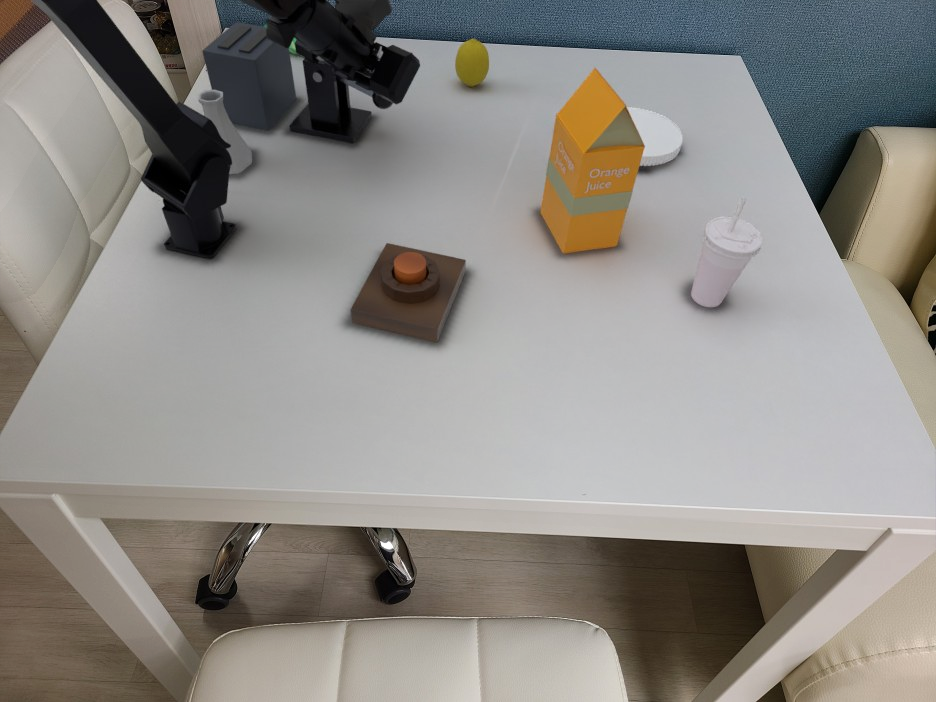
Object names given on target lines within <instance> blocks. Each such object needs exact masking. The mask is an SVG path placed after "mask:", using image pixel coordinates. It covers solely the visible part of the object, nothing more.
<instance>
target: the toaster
mask: <svg viewBox="0 0 936 702" xmlns="http://www.w3.org/2000/svg"><path fill="white" fill-rule="evenodd" d="M263 26H264V25H263ZM263 26H262V25H256V24H250V23H245V22H239V21H235V22H234V23H233V24H232V25H231V26H229V28H227V29H226V30H225V31H224V32H222V33H221V34H220V35H219V36H218V37H216V39H214V40H213V41H212V42H211V43H209V44H208V45H207V46H206V47H204V48H203V49H202V50H201V52H202V55H203V56H202V57H203V60H204V64H205V68H206V72H207V75H208V76H207V77H208V80H209V83H210V88H211V90H218V91H221V92H223V105H224V108H225V110H226V113H227V115H228V117H229V119H230V121H231V122H232V124H233V125H234V126H235V125H236V126H242V127H246V128H251V129H256V130H257V129H258V130H262V131H266V132H269V131H270V130H271V129H272V128H273V127H274V125H275V124H277V122H279V120H280V119H281V118H282V117H283V116H284V114H285V113H286V112H287V111H288V110H289V109H290V107H291V106H292V105H293V104H294V103H295V102H296V101H297V93H296V86H295V80H294V72H293V66H292V61H291V53H290V52H289V48H284V47H282V46H280V45H278V44H276V43H274V42H272V41H270V40H268V39H267V38H266V28H267V27H263Z"/></svg>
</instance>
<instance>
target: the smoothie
mask: <svg viewBox="0 0 936 702" xmlns="http://www.w3.org/2000/svg"><path fill="white" fill-rule="evenodd" d="M746 201H747V198H746V197H741V198H740V199H739V202H738V204H737V206H736V209H735V211H734V214H733V216H717V217H714V218H712V219H710V220H709V221H708V222H707V223H706V224H705V228H704V229H703V231H702V239H703V241H702V245H701V249H700V253H699V258H698V261H697V266H696V270H695V275H694V278H693V283H692V287H691V292H690V296H691V298H692V300H693V301H694V302H695V303H696V304H697V305H700V306H701V307H704V308H716V307H719V306H720V305H721V304H722V302H723V301H724V299H725V298H726V296H727V295H728V293H729V292H730V290H731V289H732V288H733V286H734V285H735V283H736V282H737V280H738V279H739V278H740V276H741V274H743V271H744V270H745V268H746V267H747V265H748V264H749V263H750V261H751V259H752V258H753V257H755V256H757V255H758V254H759V253H760V251H761V249H762V246H763V243H764V238H763V235H762V233H761V231H760V230H759V229H758V228H757V227H755V225H753V224H752V223H750V222H748V221H747V220H744V219H741V218H739V217H740V216H741V213H742V211H743V208H744V207H745V204H746Z"/></svg>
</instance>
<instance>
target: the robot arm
mask: <svg viewBox="0 0 936 702" xmlns="http://www.w3.org/2000/svg"><path fill="white" fill-rule="evenodd" d="M29 1H30V2H31V3H32V4H34V5H35V6H36V7H38V9H40V10H41V11H42V12H43V13H45V15H46V16H47V17H48V18H49V19H50V20H51V22H52V23H53V25H55V26H56V27H57V29H58V30H59V31H60V32H61V34H62V35H64V37H65V38H66V39H67V40H68V41H69V43H70V44H71V45H72V46H73V48H75V50H76V51H77V52H78V53H79V54H80V55H81V57H82V58H83V59H84V60H85V61H86V63H87V64H88V65H89V66H90V67H91V68H92V69H93V71H94V72H95V73H96V74H97V75H98V77H100V79H101V80H102V81H103V82H104V83H105V84H106V86H107V88H109V90H110V91H111V92H112V93H113V94H114V95H115V96H116V97H117V99H118V100H119V101H120V102H121V103H122V105H123V106H124V107H125V108H126V109H127V110H128V112H129V113H130V114H131V116H133V117H134V118H135V119H136V121H137V122H138V124H139V125H140V128H141V131H142V136H143V139H144V143H145V144H146V146H147V148H148V150H149V151H150V153H151V156H150V158H149V160H148V162H147V164H146V166H145V168H144V171H143V173H142V175H141V178H140V181H141V182H142V183H143V184H144V186H145V187H146V188H147V189H148V190H149V191H150V192H152V193H155V194H156V195H157V196H158V197H160V198H162V204H163V207H162V208H161V211H162V214H163V216H164V219H165V222H166V224H167V227H168V230H169V233H170V236H169V237H168V238H167V239H166V241H164V243H163V246H164V249H165V250H170V251H174V252H178V253H183V254H187V255H192V256H196V257H201V258H205V259H213V258H214V257H215V256H216V255H217V253H218V252H219V251H220V250H221V249H222V247H223V246H224V245H225V244H226V242H227V241H228V240H229V239H230V237H231V236H232V235H233V233H234V232H235V231H236V229H237V226H236V224H235V223H233V222H228V221H225V217H224V213H223V210H222V206H224V205H226V204H227V202H228V192H229V181H230V180H229V179H230V174H229V172H230V167H231V165H232V158H231V156H230V153H229V152H228V150H227V148H230V147H231V145H230V144H229V143H227V142H225V141H224V140H223V139H222V138H221V136H220V134H219V132H218V130H217V128H216V126H215V125H214V123H213V122H212V120H210V119H209V118H207V117H205V116H204V114H202V113H200V112H199V111H196V110H195V109H193V108H192V107H190V106H189V105H186V104H185V103H183V102H181V100H179V101H178V102H177V103H176V102H175V101H174V99H173V98H172V97H171V95H170V94H169V93H168V91H167V90H166V89H165V87H164V86H163V85H162V84H161V83H160V81H159V80H158V78H157V77H156V76H155V74H154V73H153V71H152V70H151V69H150V68H149V66H148V65H147V64H146V63H145V61H144V60H143V59H142V57H141V56H140V55H139V53H138V52H137V50H135V48H134V46H132V44H131V43H130V41H129V40H128V39H127V38H126V37H125V35H124V34H123V32H122V31H121V29H120V28H119V27H118V26H117V25H116V23H115V22H114V20H113V19H112V18H111V17H110V15H109V14H108V13H107V11H106V10H105V9H104V7H103V6H102V4H101V3H100V2H99V1H98V0H29ZM239 2H241V3H243V4H245V5H248V6H250V7H252V8H254V9H256V10H259V11H260V12H263V13H265V14H267V15H269V16H270V17H268V18H266V19H265V24H267V28H266V38H267V39H268V40H270V41H272V42H274V43H276V44H278V45H280V46H282V47H284V48H289V47H290V45H291V43H292V41H293V39H294V38H295V39H296V42H295V49H296V53H297V54H299V55H298V56H299V57H301V58H303V60H304V59H306V60H308V61H310V62H312V63H314V64H316V65H317V64H318V62H319V60H318V59H317V58H315V56H316V55H317V56H319V57H321V58H322V59H323V60H324V61H323V63H324V64H326V65H327V66H329V67H331V68H333V69H334V73H335V74H336V75H338V76H340V77H342V78H344V79H346V80H350V81H356V82H355V84H356V85H358V86H360V87H362V88H364V89H366V90H369V91H371V90H372V91H373V92H374V93H376V94H377V95H379V96H380V97H382V98H384V99H386V100H388V101H390V102H392V103H393V104H394V105H396V106H397V105H399V104H401V103H402V102H403V100H404V99H405V97H406V95H407V93H408V91H409V89H410V87H411V85H412V83H413V81H414V79H415V77H416V75H417V73H418V72H419V69H420V68H421V62H420V59H419V58H417V56H415V54H413V53H412V52H410V51H408V50H406V49H403V48H401V47H400V46H397V45H395V44H391V45H389V46H385V45H383V44H381V43H380V42H377V41H376V39H377V37H378V35H376V34H375V32H373V31H374V30H376V29H377V27H379V26H380V24H381V23H382V22H383V21H384V20H385V19H386V17H389V16H390V15H391V14H392V12H393V7H392V5H391V2H390V0H334V2H335V4H334V5H332V3H330V2H329V1H328V0H239ZM297 54H296V55H297Z"/></svg>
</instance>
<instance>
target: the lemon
mask: <svg viewBox="0 0 936 702" xmlns="http://www.w3.org/2000/svg"><path fill="white" fill-rule="evenodd" d="M454 61H455V63H454V67H455V73H456V76H457V78H458V79H459V81H460V82H461V83H462V84H464V85H467V86H468V87H469V88H473V87H475V86H477V85H479V84H481V83H482V82H484V80H486V78H487V76H488V73H489V70H490V56H489V51H488V50H487V48H486V46H485V44H484V43H482V42H481V41H480V40H477V39H476V38H471V39H468V40H466V41H464V42H463V43H462V44H461V45H460V46H459V48H458V50H457V52H456V55H455V60H454Z"/></svg>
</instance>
